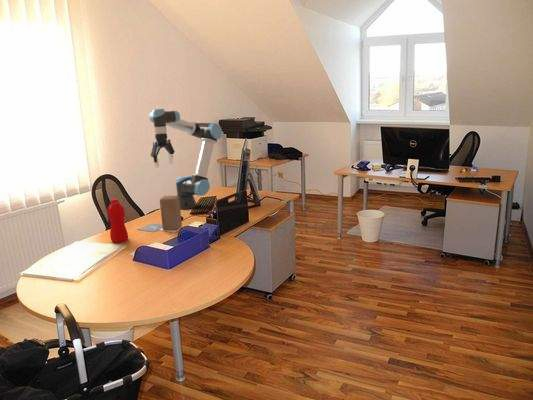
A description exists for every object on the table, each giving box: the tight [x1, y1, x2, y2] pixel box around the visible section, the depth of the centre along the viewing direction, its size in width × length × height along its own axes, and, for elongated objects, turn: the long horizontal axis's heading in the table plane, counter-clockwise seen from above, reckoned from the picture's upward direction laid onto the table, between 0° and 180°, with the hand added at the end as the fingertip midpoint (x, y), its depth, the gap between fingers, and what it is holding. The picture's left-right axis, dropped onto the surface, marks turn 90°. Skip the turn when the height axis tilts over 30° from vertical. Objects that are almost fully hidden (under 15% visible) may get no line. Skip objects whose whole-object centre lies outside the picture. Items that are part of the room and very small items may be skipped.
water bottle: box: [106, 198, 129, 244], centre depth 259 cm, size 9×11×25 cm
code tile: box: [137, 222, 163, 233], centre depth 284 cm, size 14×14×1 cm
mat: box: [159, 225, 185, 233], centre depth 280 cm, size 12×12×1 cm
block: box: [159, 195, 183, 230], centre depth 277 cm, size 10×10×20 cm
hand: (164, 165), depth 294 cm, fingers open, 13 cm apart
